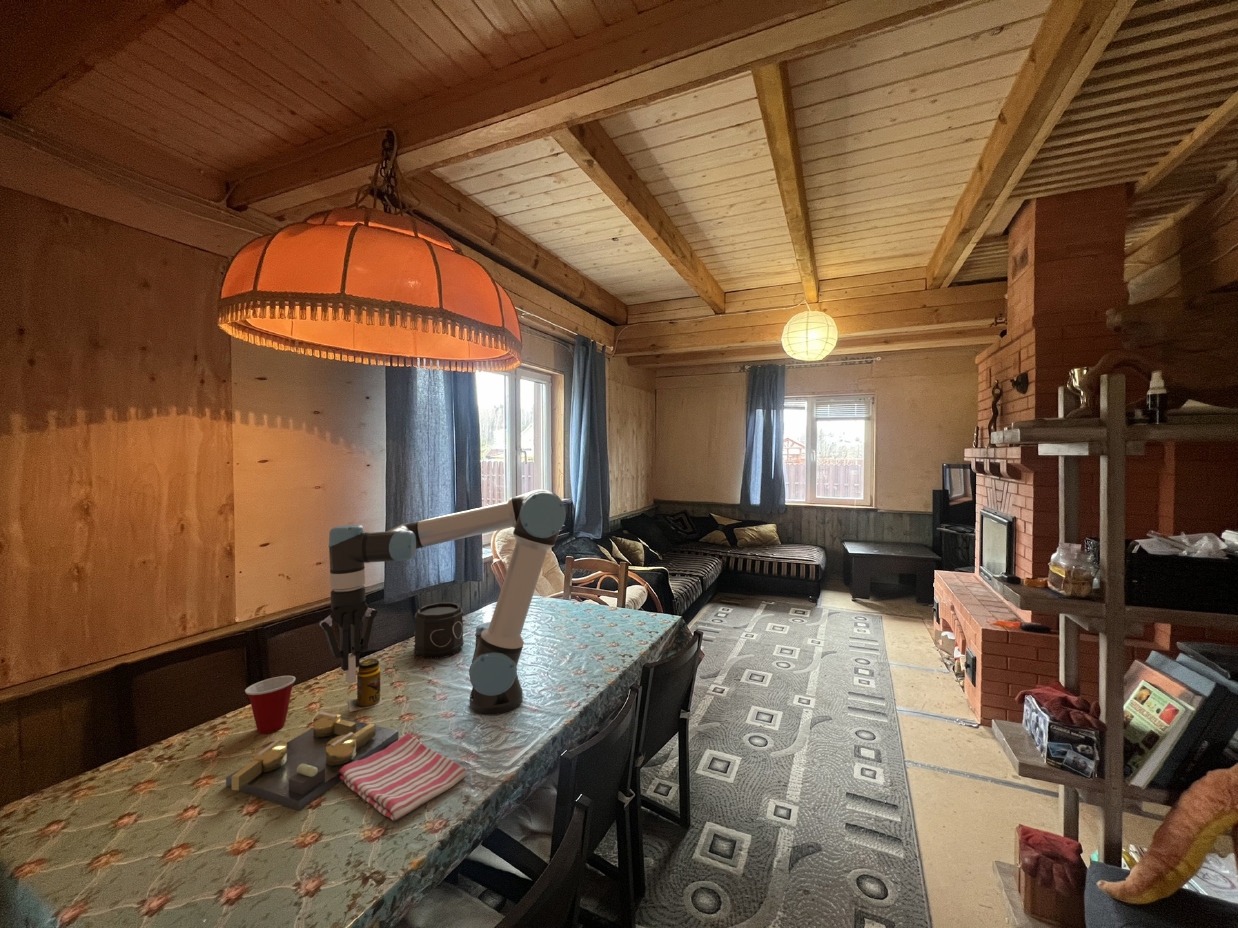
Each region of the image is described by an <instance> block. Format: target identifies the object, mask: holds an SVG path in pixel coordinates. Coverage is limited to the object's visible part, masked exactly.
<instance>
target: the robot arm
mask: <svg viewBox="0 0 1238 928" xmlns="http://www.w3.org/2000/svg"><path fill="white" fill-rule="evenodd" d="M566 515H567V514H566V507H565V504H564V502H563V500H562V499H561V498H560V497H559V496H558V495H557V494H556V493H554V492H553V491H551V490H550V489H545V488H544V489H543V488H542V489H541V488H539V489H538V488H537V489H534V490H531V491H529V492H526V493H522V494H520V495H517V496H513V497H510V498H509V499H508V500H507V501H505V502H500V503H496V504H492V505H491V504H490V505H487V506H483V507H479V508H478V507H477V508H473V509H469V510H463V511H459V512H454V513H450V514H445V515H441V516H437V517H432V518H428V519H427V518H425V519H422V520H419V521H413V522H404V523H399V524H397V525H395V526H394V527H393V528H391V529H389V530H387V531H379V532H378V531H377V532H365V529H364V527H363V525H361V524H347V525H346V524H345V525H338V526H334V527H332V528H331V529H330V530H329V534H328V535H329V537H328V554H329V555H328V558H329V573H330V574H329V576H330V577H329V579H330V580H329V581H330V582H329V585H330V589H332V590H330V610H329V612H328V616H327V617H325V618H324V619H323V620H322V619H321V620H320V621H318V625H319V626H320V627H321V628H322V629H323V631H324V635H325V638H326V640H327V644H328V647H329V649H330V652H331V656H333V657H334V658H336V659H339V658H340V669H341V670H342V671H343V672H345V682H347V683H348V684H349V685H350V684H354V683H357V668H359V665H360V662H361V661H360V655H361V654H362V652H363V651H365V650H367V649H368V648H369V642H370V638H371V637H370V636H371V634H372V633H371V632H372V629H373V623H374V620H375V617H377V614H378V610H377V609H374V608H373V607H371V608H370V607H369V606H368V604H367V602H366V601H367V600H366V598H367V597H366V587H365V586H364V585H365V584H366V575H365V563H368V564H370V563H381V562H382V563H384V562H402V561H407V560H412V559H413V558H414V557H415V554H416V551H417V549H422V548H426V547H428V546H429V547H430V546H433V545H439V544H443V543H448V542H452V541H456V540H461V539H464V538H469V537H474V536H478V535H479V536H480V535H484V534H488V533H492V532H497V531H501V530H505V529H510V528H513V532H512V535H513V536H514V538H515V541H516V542H515V545H514V548H513V551H512V553H511V557H510V561H509V565H508V566H507V570H506V573H505V576H504V579H503V583H502V586H501V589H500V591H499V595H498V599H497V601H496V605H495V606H494V607H495V608H494V610H493V615H492V617H491V621H488V622H483V623H481V624H479V625H477V626H476V628H475V634H474V636H475V646H474V647H475V649H474V651H473V656H472V660H471V664H470V667H469V670H468V674H469V682H470V684H471V686H472V688H471V692H470V693H469V694H470V695H469V709H470V710H471V711H472V712H474V713H476V714H479V715H485V716H487V715H488V716H493V715H495V716H496V715H500V714H504V713H507V712H510V711H512V710H514V709H516V708H517V707H519V706H520V704H522V702H523V699H524V698H523V694H524V693H523V688H522V685H521V683H520V680H519V677H518V669H517V667H518V665H519V660H520V657H521V653H522V650H523V647H524V644H525V641H524V639H523V637H522V636H521V635H522V631H523V628H524V625H525V622H526V619H527V617H528V612H529V609H530V606H531V603H532V599H533V596H534V594H535V590H536V588H537V587H536V586H537V584H538V581H539V578H540V574H541V572H542V568H543V564H544V562H545V558H546V555H547V552H548V550H549V549H552V548H553V547H555V545H556V541H557V539H558V536H559V532H560V530H561V529H562V528H563V526H564V524H565V521H566V517H567V516H566ZM364 616H365V617H364ZM363 617H364V621H363V625H362V631H361V635H360V627H361V623H360V622H361V620H362V618H363ZM332 621H334V622H335V623H336V624H337V625H338V630H339V646H338V643H337V639H336V637H335V633H334V630H333V628H332V625H333V622H332ZM349 626H350V629H349ZM349 630H350V644H351V645H349ZM349 647H350V649H351V653H349Z"/></svg>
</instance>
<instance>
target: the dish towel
mask: <svg viewBox="0 0 1238 928" xmlns="http://www.w3.org/2000/svg"><path fill="white" fill-rule="evenodd" d="M339 772H340V773H341V774H342V775H341V776H340V779H341V781H342V782H344V784H345V786H347V787H348V788H349V789H350V790H351V791H353V792H354V793H356V794H358V795H359V797H360V798H362V800H363V801H365V802H367V803H368V804H370V805H372V806H373V807H374V809H375V810H377V811H378V813H380V814H381V815H383V816H384V817H387V818H389V819H391V820H392V821H397V820H399V819H401V818H402V817H405V816H406V815H407V814H410V813H411V812H412V811H414V810H416V809H417V808H420V807H421V806H422V805H424V804H426V803H428V802H429V801H431V800H433V799H434V798H436V797H438V796H440V795H441V794H443V793H445V792H446V791H447V790H450V789H452V787H454V786H455V785H457V784H458V783H459V782H461V781H462V780H463V779H464V780H465V779H466V778H467V775H468V772H467V770H466V769H465V768H464V766H461V765H459V764H458V763H457V762H455V761H454V760H452V759H451V758H449V757H446V756H445V755H441V754H440V753H439V752H437V751H436V750H434V749H431V748H430V747H427V746H425V745H424V744H423V743H422V742H421V741H420V740H419V739H418V738H416V737H414V736H412V733H411V732H407V733H406V734H404V735H402V736H401V738H398V740H396V741H395V742H393V743H392V744H391V745H389V746H388V747H387V748H385V749H384V750H382V751H379V752H377V753H375V754H373V755H371V756H369V757H367V758H365V759H362V760H358V761H355V762H352V763H349V764H347V765H344V766H343V767H342V768H341V769H340V770H339Z"/></svg>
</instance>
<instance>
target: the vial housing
mask: <svg viewBox="0 0 1238 928" xmlns="http://www.w3.org/2000/svg"><path fill="white" fill-rule="evenodd" d="M323 780H325V768H323V767H319V766H316V765H312V764H311V765H307V764H300V765H299V766H298V767H297V774H296V775H294V776H293V777H291V778H289V791H292V792H295V793H298V794H301V795H303V794H305V793H306V792H307V791H309V790H310V789H312V788H313V787H315V786H316V785H318V784H319V783H320V782H322V781H323Z"/></svg>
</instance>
